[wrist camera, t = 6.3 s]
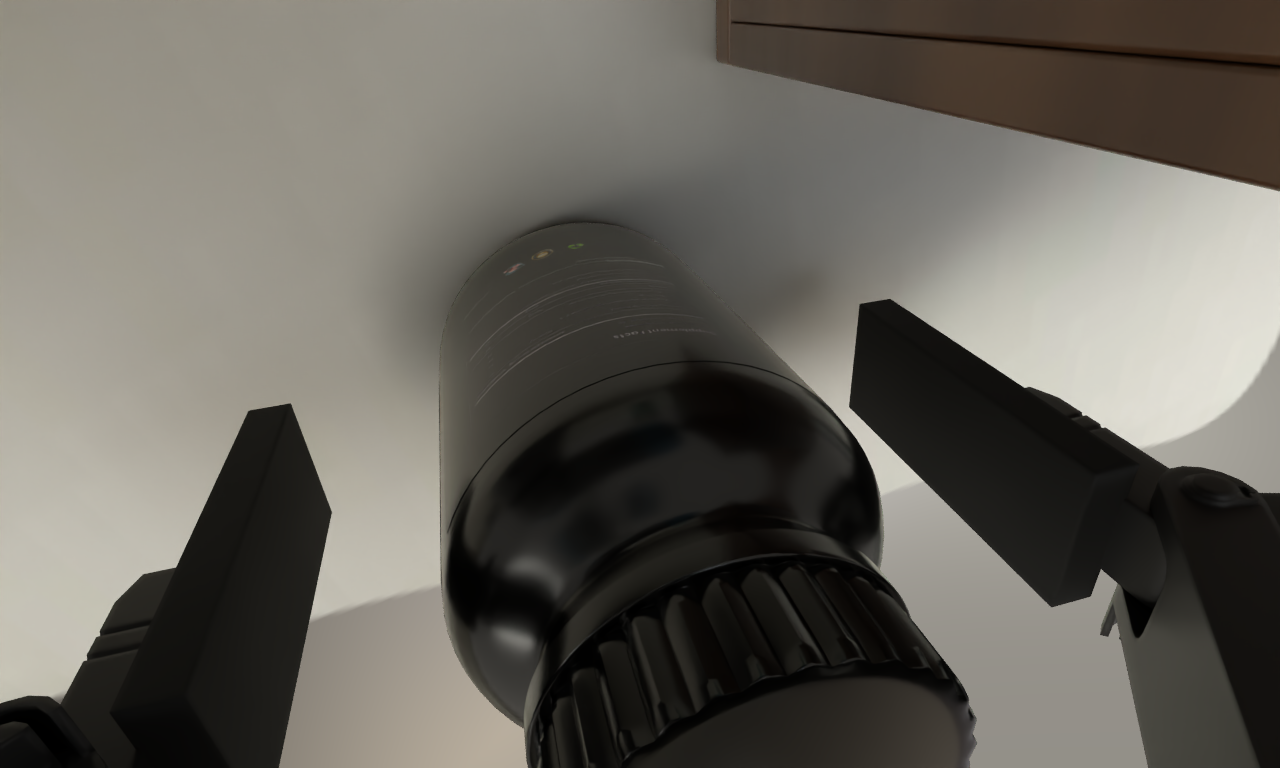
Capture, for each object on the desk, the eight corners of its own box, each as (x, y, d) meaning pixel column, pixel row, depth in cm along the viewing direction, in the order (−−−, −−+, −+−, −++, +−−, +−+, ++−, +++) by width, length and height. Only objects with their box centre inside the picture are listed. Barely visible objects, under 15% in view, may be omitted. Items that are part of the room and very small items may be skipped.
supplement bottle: (732, 401, 19) (1057, 842, 9) (506, 494, 19) (585, 1064, 9) (666, 165, 16) (1082, 470, 6) (384, 276, 15) (281, 818, 5)
